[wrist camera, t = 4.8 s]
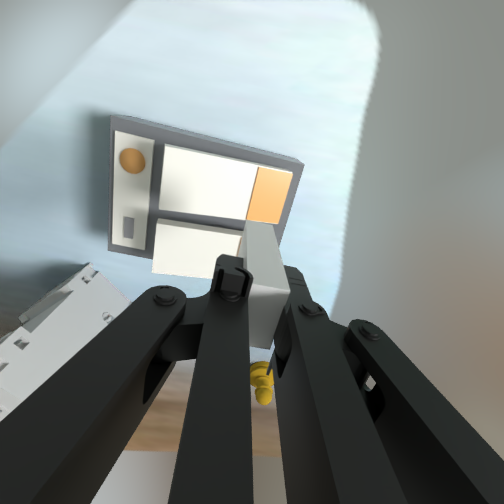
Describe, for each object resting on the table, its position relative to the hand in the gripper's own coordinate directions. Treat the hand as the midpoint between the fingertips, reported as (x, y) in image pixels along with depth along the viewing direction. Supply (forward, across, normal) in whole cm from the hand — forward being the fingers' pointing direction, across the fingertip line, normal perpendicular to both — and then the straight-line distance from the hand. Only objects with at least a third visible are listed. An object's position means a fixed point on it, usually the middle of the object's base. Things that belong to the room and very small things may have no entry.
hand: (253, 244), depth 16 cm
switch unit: (+14, -4, -2) cm, 15 cm away
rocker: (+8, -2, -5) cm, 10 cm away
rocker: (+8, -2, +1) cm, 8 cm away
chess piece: (+14, +8, -25) cm, 30 cm away
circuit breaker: (+14, -13, -20) cm, 28 cm away
